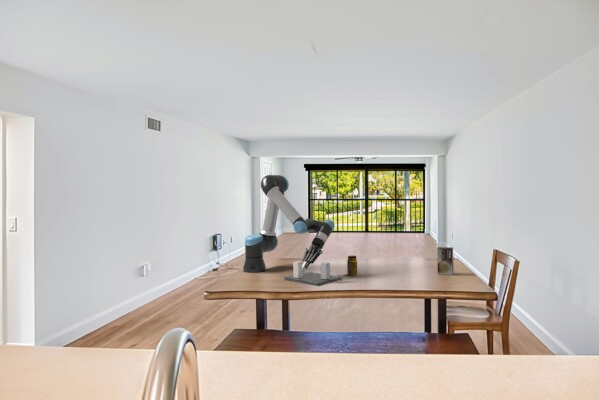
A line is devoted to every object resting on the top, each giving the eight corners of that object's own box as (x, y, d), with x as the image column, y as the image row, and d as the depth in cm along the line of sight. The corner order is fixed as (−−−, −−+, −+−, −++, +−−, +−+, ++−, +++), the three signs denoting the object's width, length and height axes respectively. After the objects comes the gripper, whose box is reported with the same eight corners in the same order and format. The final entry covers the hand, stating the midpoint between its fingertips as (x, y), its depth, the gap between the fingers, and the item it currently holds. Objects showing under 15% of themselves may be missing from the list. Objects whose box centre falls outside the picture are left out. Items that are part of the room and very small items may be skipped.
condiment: (360, 275, 263) (359, 256, 263) (349, 277, 259) (349, 257, 258) (352, 273, 270) (352, 254, 269) (342, 275, 265) (341, 256, 265)
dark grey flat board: (284, 279, 255) (284, 277, 255) (309, 274, 271) (309, 271, 271) (316, 285, 237) (316, 283, 237) (341, 279, 253) (341, 276, 253)
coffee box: (453, 273, 265) (453, 247, 264) (452, 275, 259) (452, 248, 258) (438, 272, 268) (438, 246, 268) (437, 274, 263) (436, 248, 262)
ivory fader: (293, 277, 254) (293, 262, 253) (297, 276, 256) (297, 261, 256) (298, 278, 251) (298, 262, 250) (302, 277, 253) (302, 261, 253)
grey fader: (320, 278, 248) (320, 263, 248) (324, 277, 251) (324, 262, 251) (326, 279, 246) (325, 263, 245) (330, 278, 248) (329, 262, 248)
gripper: (330, 245, 264) (312, 276, 253) (314, 243, 274) (296, 274, 262) (324, 237, 261) (306, 269, 249) (308, 236, 270) (290, 266, 258)
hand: (301, 271), depth 255 cm, fingers closed
